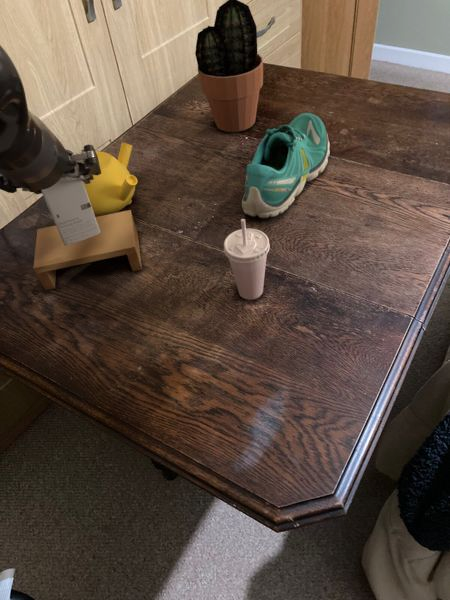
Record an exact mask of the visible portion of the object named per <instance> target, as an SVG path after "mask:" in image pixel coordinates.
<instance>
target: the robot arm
mask: <svg viewBox="0 0 450 600" xmlns="http://www.w3.org/2000/svg"><path fill="white" fill-rule="evenodd" d="M80 151H81V152H76V153H75V152H73V151H72V150H69V149H66V148H65V146H64V145H63V143H62V142H61V140H59V138H58V137H57V136H56V135H55V134H54V133H53V132H52V131H51V130H50V128H49V127H48V126H47V124H45V123H44V121H43V120H41V119H40V118H39V117H38V116H36V114H33V113H32V112H31V111H30V110H29V107H28V101H27V96H26V91H25V87H24V83H23V80H22V78H21V74H20V73H19V70H18V69H17V67H16V65H15V63H14V61H13V59H11V57H10V56H9V54H8V52H7V51H6V49H4V47H3V46H2V45H1V44H0V190H1V191H4V192H6V193H7V194H15V193H17V192H18V190H17V189H21V191H23V192H29V193H34V194H35V195H41V194H42V192H41V190H44V189H47V188H50V187H52V186H53V185H55V184H56V183H57V182H58V181H59V180H69V181H73V180H76V179H78V178H80V179H81V180H82V181H83V182H84V183H85V184H89V183H91V181H90V180H93V179H94V178H93V175H99V174H101V169H100V165H99V160H98V156H97V154H96V152H97V151H96V149H95V147H94V145H93V144H89V143H88V144H86V145H83V148H82V149H81V150H80ZM77 165H78V166H77ZM78 169H79V170H78ZM42 195H43V194H42Z"/></svg>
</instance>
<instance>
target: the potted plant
mask: <svg viewBox="0 0 450 600" xmlns="http://www.w3.org/2000/svg"><path fill="white" fill-rule="evenodd" d="M257 29H258V27H257V24H256V22H255V19H254V16H253V14H252V11H251V9H250V6H249V5H248V4H246V3H245V2H242V1H240V0H227V1H225V2H224V3H222V4H221V5H220V6H219V7H218V9H217V10H216V12H215V18H214V24H213V26H212V25H207V27H205V28H202V30H200V31H199V32H197V36H196V37H197V38H196V44H195V52H194V54H195V59H196V63H197V74H198V78H199V79H198V80H199V84H200V89H201V92H202V94H203V95H204V96H205V97H206V100H207V102H208V106H209V108H210V111H211V114H212V117H213V120H214V123H215V126H216V127H217V129H219V130H221V131H223V132H226V133H239V132H243V131H246V130H248V129H250V128H251V127H253V125H255V123H256V118H257V112H258V104H259V97H260V90H261V89H262V87H263V85H264V60H263V57H262V56H261V55H260V54H259V53H258V30H257Z"/></svg>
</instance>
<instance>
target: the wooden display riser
mask: <svg viewBox="0 0 450 600" xmlns="http://www.w3.org/2000/svg"><path fill="white" fill-rule="evenodd" d="M95 218H96V221H97V223H98V226H99V229H100V233H99V234H98V235H95V236H93V237H90V238H87V239H85V240H82V241H79V242H76V243H73V244H70V245H66V246H65V245H64V243H63V241H62V239H61V236H60V234H59V232H58V229H57V227H56V225H51V226H46V227H42V228H38V229H36V238H35V249H34V259H33V270H34V272H35V274H36V276H37V278H38V279H39V282H40V283H41V285H42V287H43V290H45V291H49V290H53V289H56V277H57V270H60V269H64V268H70V267H75V266H78V265H84V264H88V263H93V262H97V261H102V260H107V259H112V258H117V257H120V256H121V257H122V256H125V255H126V256H127V259H128V262H129V265H130V268H131V271H132V272H136V271H137V272H138V271H141V270H143V266H142V259H141V249H140V243H139V235H138V230H137V226H136V223H135V220H134V216H133V212H132V210H131V209H128V210H122V211H118V212H116V213H113V214H108V215H104V216H99V217H95Z"/></svg>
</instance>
